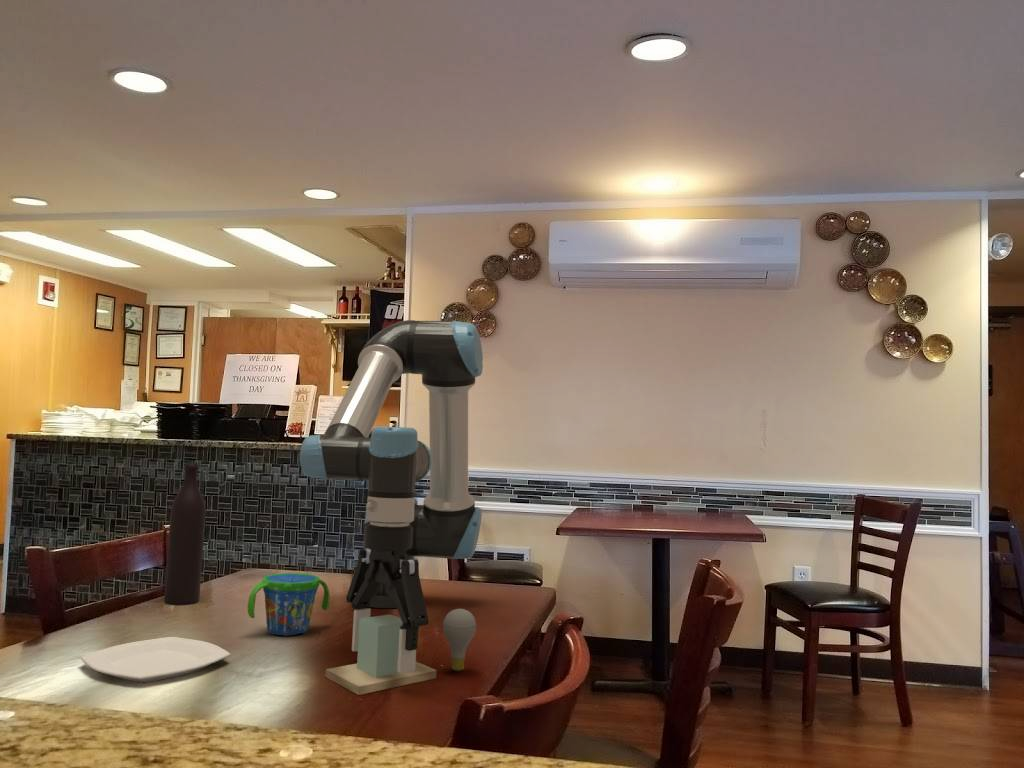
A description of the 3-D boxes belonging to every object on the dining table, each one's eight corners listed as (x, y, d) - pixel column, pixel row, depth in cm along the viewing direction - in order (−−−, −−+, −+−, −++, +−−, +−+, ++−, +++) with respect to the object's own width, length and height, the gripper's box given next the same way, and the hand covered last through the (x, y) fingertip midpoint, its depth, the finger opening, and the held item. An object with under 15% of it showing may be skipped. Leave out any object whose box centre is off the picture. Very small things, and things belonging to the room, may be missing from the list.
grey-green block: (356, 668, 119) (359, 618, 120) (387, 662, 123) (389, 614, 124) (375, 677, 115) (378, 626, 116) (406, 671, 119) (409, 621, 119)
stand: (401, 662, 128) (403, 618, 128) (436, 678, 120) (438, 631, 121) (325, 677, 118) (328, 629, 119) (358, 695, 111) (361, 644, 111)
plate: (134, 696, 107) (135, 682, 108) (61, 669, 118) (62, 656, 118) (246, 665, 124) (247, 653, 124) (173, 644, 134) (174, 632, 134)
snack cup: (318, 621, 153) (321, 570, 153) (337, 634, 144) (340, 579, 144) (238, 629, 144) (242, 575, 145) (253, 643, 135) (257, 585, 136)
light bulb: (440, 665, 127) (443, 604, 127) (473, 666, 127) (476, 605, 128) (440, 676, 121) (443, 612, 122) (474, 676, 122) (477, 613, 122)
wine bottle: (206, 601, 166) (215, 463, 168) (176, 606, 160) (187, 463, 162) (186, 596, 170) (196, 461, 172) (156, 601, 164) (167, 462, 166)
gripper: (330, 516, 128) (322, 645, 126) (414, 534, 109) (406, 685, 108) (369, 514, 133) (362, 638, 131) (455, 531, 114) (449, 676, 113)
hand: (382, 660), depth 119 cm, fingers open, 13 cm apart
